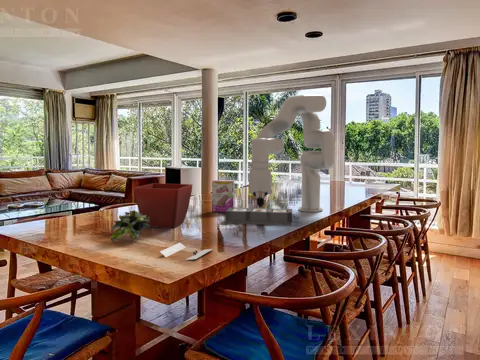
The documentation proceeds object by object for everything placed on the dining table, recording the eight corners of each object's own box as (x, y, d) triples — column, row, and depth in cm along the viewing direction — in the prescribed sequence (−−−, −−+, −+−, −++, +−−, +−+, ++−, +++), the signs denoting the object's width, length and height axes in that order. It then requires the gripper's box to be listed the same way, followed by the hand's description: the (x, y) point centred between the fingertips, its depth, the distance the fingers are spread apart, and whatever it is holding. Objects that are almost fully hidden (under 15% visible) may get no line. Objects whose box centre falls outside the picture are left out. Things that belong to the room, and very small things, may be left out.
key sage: (273, 216, 165) (273, 209, 165) (286, 216, 164) (286, 209, 164) (272, 218, 159) (272, 211, 159) (286, 219, 158) (286, 211, 158)
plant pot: (177, 230, 143) (177, 188, 141) (133, 228, 147) (132, 187, 145) (193, 221, 162) (193, 184, 160) (153, 220, 165) (153, 183, 164)
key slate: (234, 214, 168) (234, 208, 167) (247, 215, 167) (247, 208, 166) (232, 217, 162) (232, 210, 161) (245, 217, 161) (245, 210, 161)
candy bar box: (211, 212, 186) (211, 180, 185) (213, 210, 191) (213, 179, 190) (233, 212, 185) (233, 180, 184) (234, 211, 190) (234, 180, 188)
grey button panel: (230, 217, 172) (230, 206, 172) (292, 219, 168) (292, 208, 167) (224, 223, 158) (224, 211, 158) (291, 225, 154) (292, 213, 154)
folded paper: (195, 262, 104) (195, 256, 103) (159, 258, 108) (159, 251, 108) (213, 252, 115) (213, 246, 115) (180, 248, 119) (180, 242, 119)
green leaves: (132, 253, 132) (150, 221, 137) (142, 255, 122) (161, 220, 127) (101, 237, 127) (120, 204, 132) (109, 238, 117) (130, 202, 122)
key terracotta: (253, 215, 166) (253, 208, 166) (266, 215, 165) (266, 209, 165) (252, 217, 160) (252, 210, 160) (265, 218, 159) (265, 211, 159)
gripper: (242, 166, 159) (242, 207, 160) (276, 166, 156) (276, 208, 158) (244, 165, 166) (245, 205, 168) (277, 165, 164) (277, 205, 166)
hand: (260, 206), depth 163 cm, fingers closed
